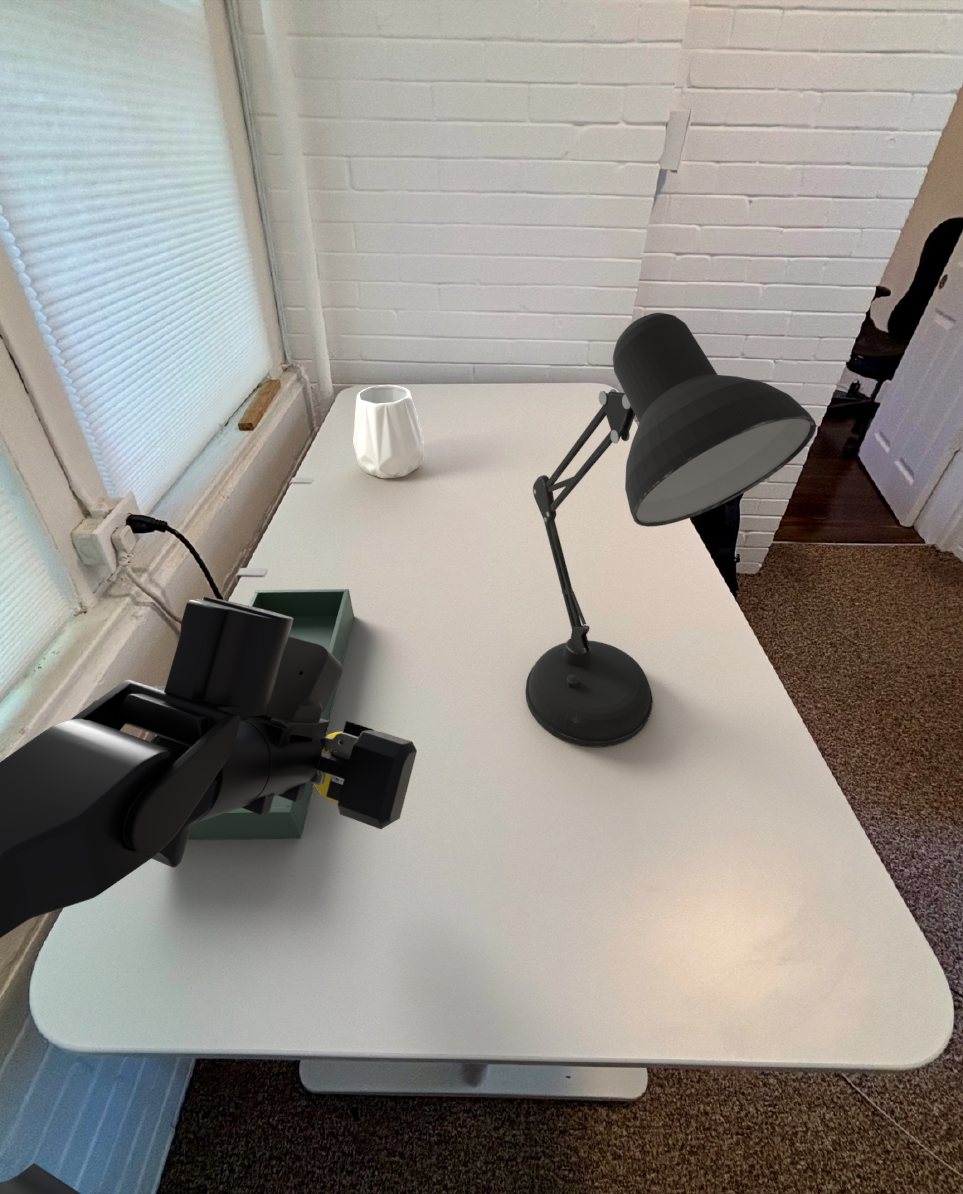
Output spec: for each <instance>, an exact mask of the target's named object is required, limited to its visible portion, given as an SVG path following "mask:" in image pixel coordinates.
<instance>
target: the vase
mask: <svg viewBox="0 0 963 1194" xmlns="http://www.w3.org/2000/svg"><path fill="white" fill-rule="evenodd" d="M355 396H356V397H355V408H354V409H355V411H354V423H353V436H352V437H353V439H352V444H353V448H354V452H355V456H356V459H357V464H358V465H359V467H360V468H361V470H363V471H364V472H365V473H367V474H369V475H372V476H375V477H377V478H380V479H394V478H396V479H397V478H404V477H406V476H408V475H410V474H411V473H412V472H414V471H416V470H417V469H418V468H420V467H421V465H422V463H423V461H424V458H425V437H424V432H423V428H422V425H421V422H420V419H419V416H418V413H417V409H416V406H415V403H414V400H413V397H412V394H411V391H410V390H409V389H408V388H405V387H403V386H399V385H395V384H382V385H381V384H379V385H373V386H370V387H366V388H365V389H362V390H361V391H358V393H357V394H356V395H355Z"/></svg>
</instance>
